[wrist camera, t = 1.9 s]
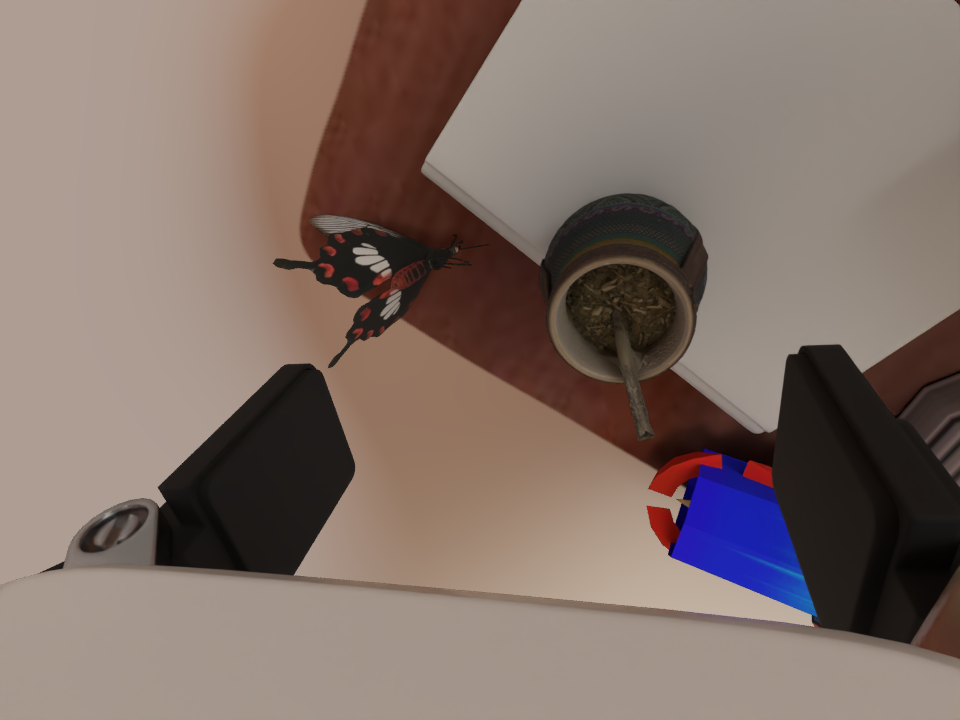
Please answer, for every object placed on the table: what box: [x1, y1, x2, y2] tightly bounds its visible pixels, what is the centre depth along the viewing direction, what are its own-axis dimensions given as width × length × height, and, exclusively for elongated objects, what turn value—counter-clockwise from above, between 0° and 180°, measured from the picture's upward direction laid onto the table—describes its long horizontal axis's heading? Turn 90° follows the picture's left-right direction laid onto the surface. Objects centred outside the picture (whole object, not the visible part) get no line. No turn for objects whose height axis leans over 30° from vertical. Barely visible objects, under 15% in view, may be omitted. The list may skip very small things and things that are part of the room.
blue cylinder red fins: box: [647, 448, 821, 628], centre depth 33 cm, size 12×12×12 cm
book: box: [421, 0, 960, 434], centre depth 25 cm, size 18×4×24 cm
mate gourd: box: [539, 193, 709, 441], centre depth 22 cm, size 7×8×10 cm
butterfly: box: [273, 214, 490, 368], centre depth 31 cm, size 11×8×10 cm
